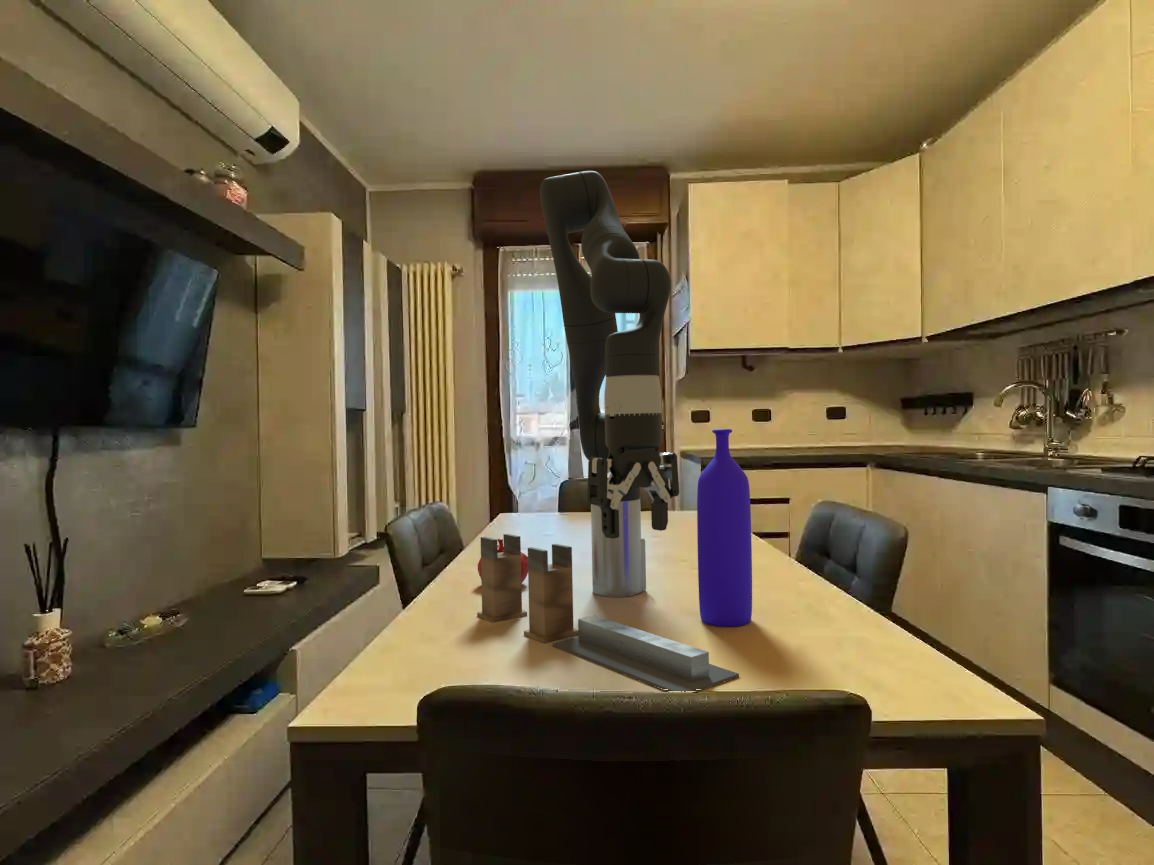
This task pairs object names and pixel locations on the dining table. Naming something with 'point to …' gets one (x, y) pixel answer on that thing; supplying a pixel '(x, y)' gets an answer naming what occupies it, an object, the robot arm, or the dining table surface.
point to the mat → (643, 668)
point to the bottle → (724, 540)
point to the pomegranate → (523, 561)
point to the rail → (645, 648)
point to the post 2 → (550, 594)
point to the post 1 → (501, 579)
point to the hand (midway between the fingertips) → (635, 533)
